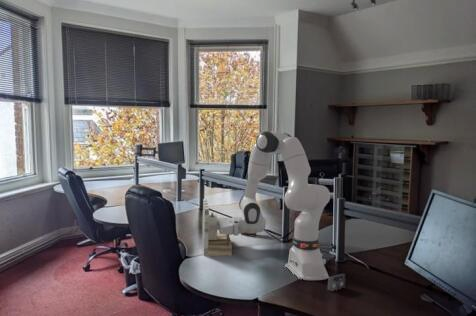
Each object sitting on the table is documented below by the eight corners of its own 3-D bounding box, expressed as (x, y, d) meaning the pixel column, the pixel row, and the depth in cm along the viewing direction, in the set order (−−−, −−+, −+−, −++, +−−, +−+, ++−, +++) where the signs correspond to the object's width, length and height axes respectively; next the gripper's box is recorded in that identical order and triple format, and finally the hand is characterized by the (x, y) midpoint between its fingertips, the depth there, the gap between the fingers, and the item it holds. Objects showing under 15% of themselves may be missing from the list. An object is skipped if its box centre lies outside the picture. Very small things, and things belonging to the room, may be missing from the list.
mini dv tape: (342, 286, 155) (343, 273, 154) (344, 288, 154) (345, 274, 153) (327, 290, 151) (328, 276, 150) (329, 292, 150) (330, 277, 149)
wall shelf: (231, 255, 188) (232, 209, 185) (203, 255, 186) (204, 209, 183) (226, 240, 211) (227, 199, 209) (202, 240, 209) (203, 199, 207)
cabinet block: (216, 239, 196) (217, 214, 194) (207, 239, 195) (207, 214, 194) (216, 236, 201) (216, 212, 199) (207, 237, 200) (207, 212, 199)
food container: (260, 233, 225) (261, 217, 224) (258, 236, 220) (259, 220, 219) (241, 231, 229) (241, 215, 228) (238, 234, 223) (239, 218, 222)
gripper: (233, 214, 209) (208, 214, 207) (237, 224, 188) (210, 224, 187) (233, 225, 209) (208, 225, 208) (237, 236, 189) (210, 237, 187)
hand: (209, 225), depth 197 cm, fingers closed on cabinet block, 5 cm apart
